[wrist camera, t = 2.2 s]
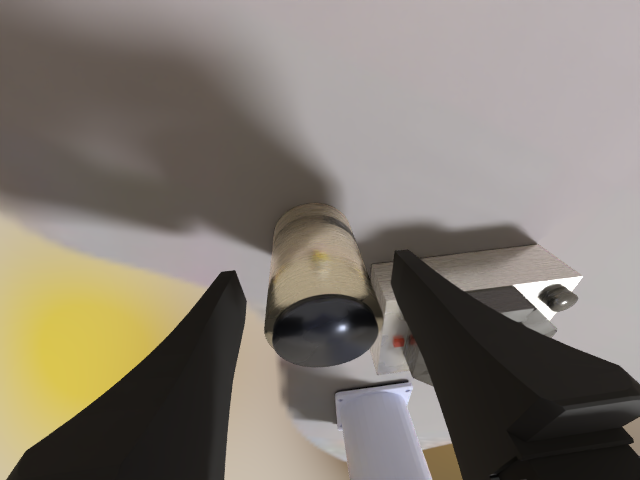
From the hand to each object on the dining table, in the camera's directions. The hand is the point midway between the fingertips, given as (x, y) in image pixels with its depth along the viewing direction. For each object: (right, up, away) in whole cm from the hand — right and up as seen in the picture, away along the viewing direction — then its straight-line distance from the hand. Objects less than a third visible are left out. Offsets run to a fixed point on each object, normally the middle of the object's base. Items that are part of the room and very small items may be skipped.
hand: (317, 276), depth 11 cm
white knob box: (+9, -2, +7) cm, 12 cm away
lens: (0, +2, +3) cm, 3 cm away
